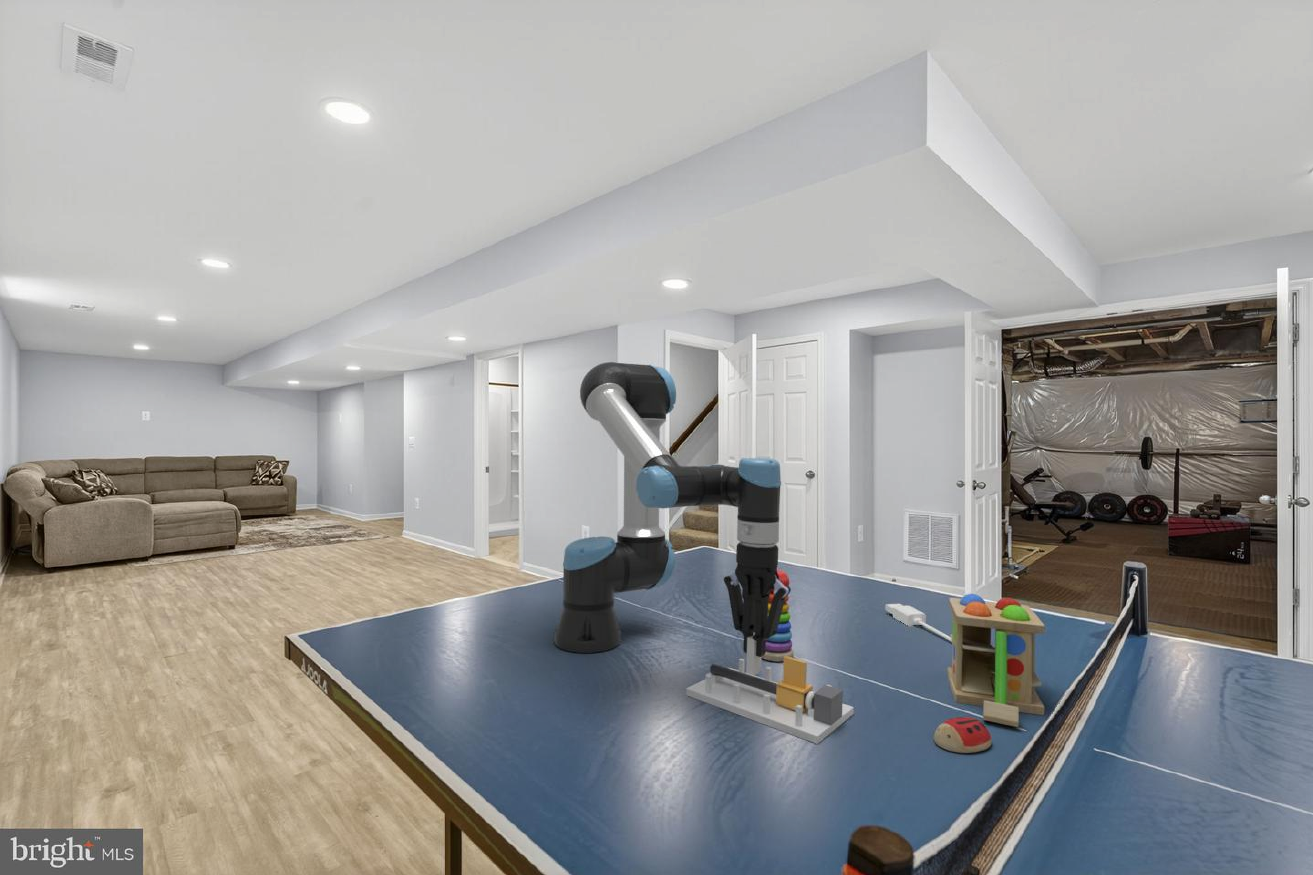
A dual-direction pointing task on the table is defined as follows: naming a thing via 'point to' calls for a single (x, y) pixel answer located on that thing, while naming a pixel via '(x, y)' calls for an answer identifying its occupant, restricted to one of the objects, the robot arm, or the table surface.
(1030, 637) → the pounding bench toy
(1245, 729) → the table surface
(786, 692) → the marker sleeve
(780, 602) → the robot arm
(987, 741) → the ladybug figurine
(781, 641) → the stacking toy
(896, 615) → the charging cable
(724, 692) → the slider track board
